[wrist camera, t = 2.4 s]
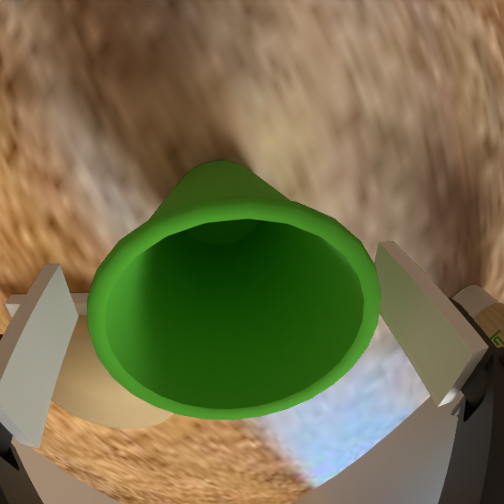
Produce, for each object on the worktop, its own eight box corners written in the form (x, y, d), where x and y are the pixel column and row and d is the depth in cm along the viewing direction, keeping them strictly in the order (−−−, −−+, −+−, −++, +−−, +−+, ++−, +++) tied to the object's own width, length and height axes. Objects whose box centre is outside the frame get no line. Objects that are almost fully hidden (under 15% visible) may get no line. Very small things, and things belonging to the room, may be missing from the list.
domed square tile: (10, 294, 19) (-8, 326, 16) (178, 288, 21) (175, 326, 18) (70, 398, 27) (63, 427, 23) (199, 401, 28) (201, 433, 25)
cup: (211, 290, 22) (223, 440, 12) (111, 196, 17) (34, 331, 8) (322, 210, 20) (413, 337, 10) (232, 91, 15) (276, 113, 6)
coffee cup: (412, 317, 26) (493, 448, 14) (487, 251, 24) (587, 358, 11) (436, 354, 31) (495, 455, 18) (497, 301, 29) (567, 390, 16)
